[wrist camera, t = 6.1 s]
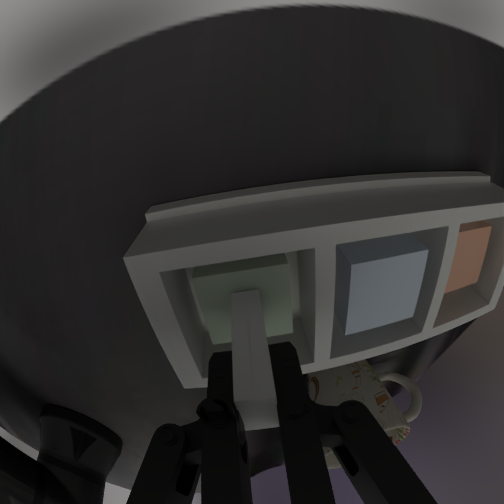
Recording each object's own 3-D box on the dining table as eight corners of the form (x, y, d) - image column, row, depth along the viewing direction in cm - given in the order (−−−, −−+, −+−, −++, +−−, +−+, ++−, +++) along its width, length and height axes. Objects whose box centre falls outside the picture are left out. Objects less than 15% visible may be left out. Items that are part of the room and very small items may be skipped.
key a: (213, 319, 18) (212, 344, 16) (196, 255, 16) (191, 278, 14) (286, 308, 18) (293, 332, 16) (280, 242, 16) (288, 263, 14)
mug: (302, 343, 23) (330, 444, 14) (415, 327, 24) (461, 399, 15) (290, 393, 27) (307, 474, 18) (389, 376, 28) (419, 441, 19)
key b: (333, 310, 17) (344, 335, 15) (335, 243, 15) (351, 264, 13) (396, 295, 17) (412, 316, 15) (407, 231, 15) (428, 249, 13)
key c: (420, 278, 18) (436, 296, 16) (430, 219, 16) (450, 233, 14) (461, 267, 18) (477, 281, 16) (472, 213, 16) (491, 225, 14)
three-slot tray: (193, 334, 21) (186, 392, 16) (151, 206, 16) (119, 247, 11) (459, 278, 22) (492, 312, 16) (478, 171, 16) (527, 193, 11)
